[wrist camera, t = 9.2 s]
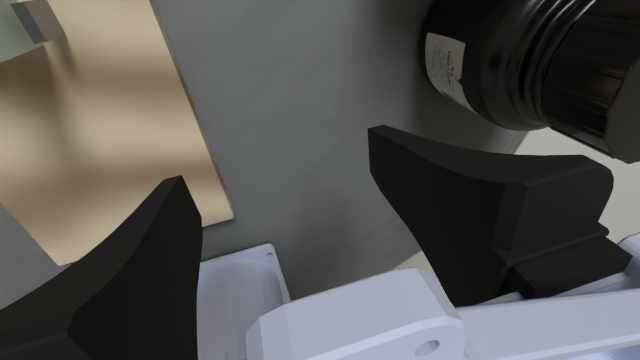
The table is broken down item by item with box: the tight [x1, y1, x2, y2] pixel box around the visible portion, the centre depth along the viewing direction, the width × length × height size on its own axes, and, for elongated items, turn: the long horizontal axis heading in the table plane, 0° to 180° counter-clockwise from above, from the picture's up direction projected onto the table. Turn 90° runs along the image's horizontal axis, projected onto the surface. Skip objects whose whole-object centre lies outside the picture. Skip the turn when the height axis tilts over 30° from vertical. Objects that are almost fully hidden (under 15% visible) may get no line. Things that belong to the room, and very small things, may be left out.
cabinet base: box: [0, 0, 234, 266], centre depth 17 cm, size 22×12×1 cm, turn 8°
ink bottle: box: [419, 0, 640, 164], centre depth 16 cm, size 10×9×12 cm
